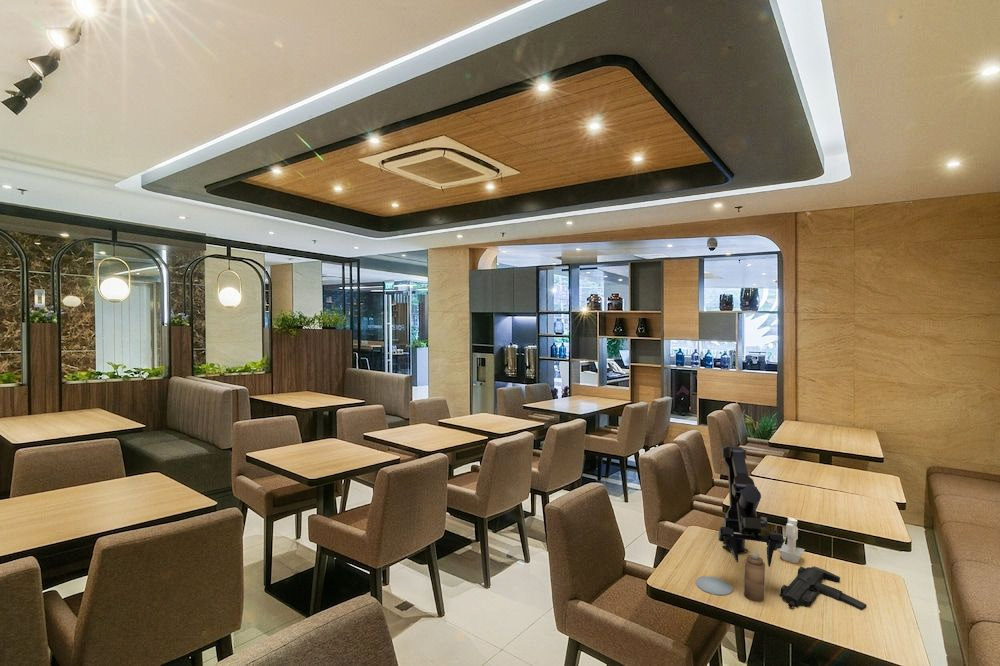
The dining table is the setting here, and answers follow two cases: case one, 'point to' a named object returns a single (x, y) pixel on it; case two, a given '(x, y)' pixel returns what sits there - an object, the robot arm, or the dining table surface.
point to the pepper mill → (754, 578)
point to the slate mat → (713, 585)
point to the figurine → (791, 543)
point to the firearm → (814, 589)
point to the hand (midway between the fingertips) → (753, 564)
